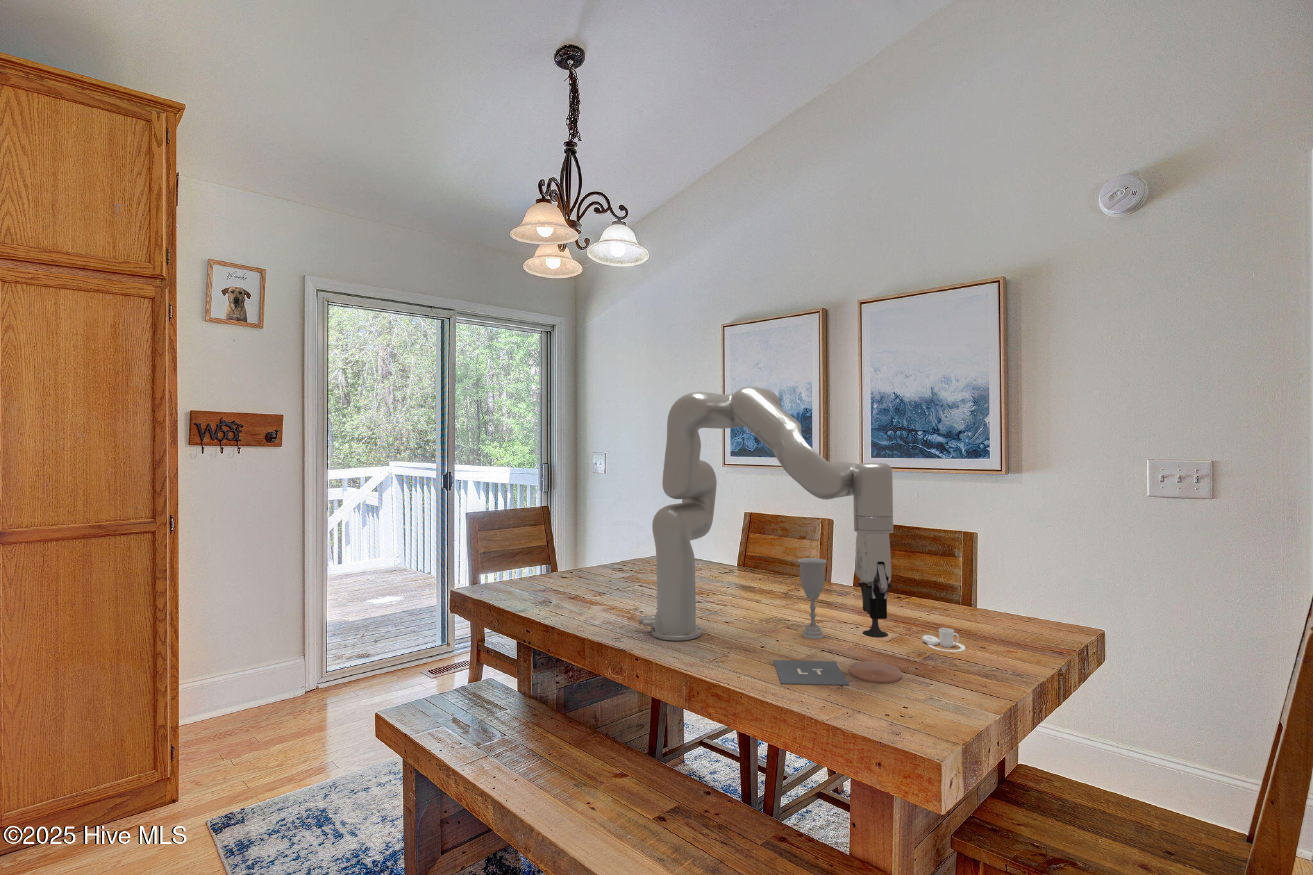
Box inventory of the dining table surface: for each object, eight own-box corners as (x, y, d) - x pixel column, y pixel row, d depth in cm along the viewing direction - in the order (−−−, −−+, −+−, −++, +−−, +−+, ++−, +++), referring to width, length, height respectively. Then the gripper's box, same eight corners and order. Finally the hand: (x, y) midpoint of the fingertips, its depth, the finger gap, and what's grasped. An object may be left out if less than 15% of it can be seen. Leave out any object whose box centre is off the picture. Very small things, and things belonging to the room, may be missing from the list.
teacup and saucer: (916, 644, 147) (916, 626, 147) (942, 639, 151) (942, 622, 151) (947, 655, 139) (947, 637, 139) (973, 650, 142) (973, 632, 142)
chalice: (828, 640, 149) (827, 564, 149) (798, 639, 150) (798, 563, 150) (826, 631, 156) (825, 558, 156) (798, 630, 157) (797, 557, 158)
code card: (780, 684, 123) (780, 682, 123) (773, 660, 135) (773, 659, 135) (849, 685, 122) (849, 684, 122) (835, 662, 135) (835, 660, 135)
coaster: (855, 682, 123) (855, 678, 123) (844, 664, 133) (844, 660, 133) (908, 683, 122) (908, 679, 122) (892, 665, 132) (892, 661, 132)
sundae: (852, 630, 131) (851, 557, 131) (883, 629, 131) (882, 556, 132) (865, 639, 124) (864, 562, 124) (898, 638, 125) (897, 561, 125)
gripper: (844, 519, 137) (846, 604, 136) (865, 529, 120) (866, 626, 119) (880, 519, 136) (881, 604, 136) (905, 529, 119) (907, 627, 119)
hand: (874, 613), depth 128 cm, fingers closed on sundae, 4 cm apart
